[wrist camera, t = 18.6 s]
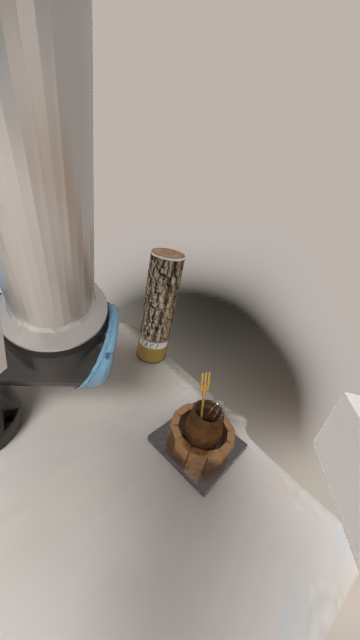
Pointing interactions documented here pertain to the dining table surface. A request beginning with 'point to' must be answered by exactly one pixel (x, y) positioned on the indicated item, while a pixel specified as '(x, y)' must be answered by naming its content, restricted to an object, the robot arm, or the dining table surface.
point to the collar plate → (191, 473)
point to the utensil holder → (204, 421)
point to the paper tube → (159, 303)
